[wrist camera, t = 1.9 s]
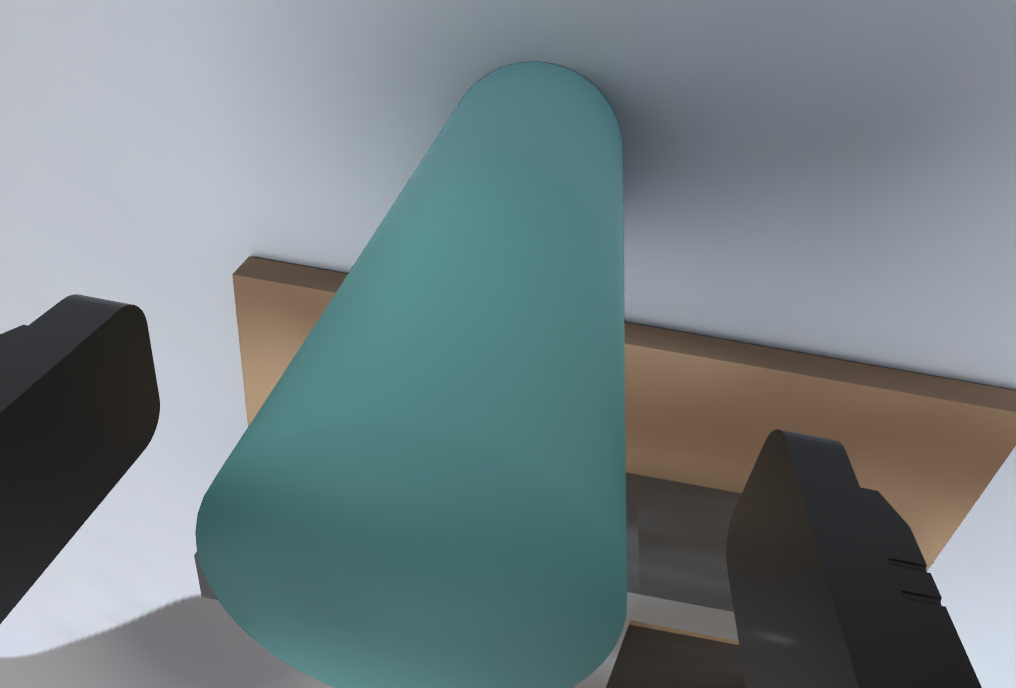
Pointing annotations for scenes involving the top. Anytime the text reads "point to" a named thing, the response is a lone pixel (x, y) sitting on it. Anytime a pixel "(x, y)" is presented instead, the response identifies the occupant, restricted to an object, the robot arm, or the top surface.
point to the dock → (710, 458)
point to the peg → (452, 422)
